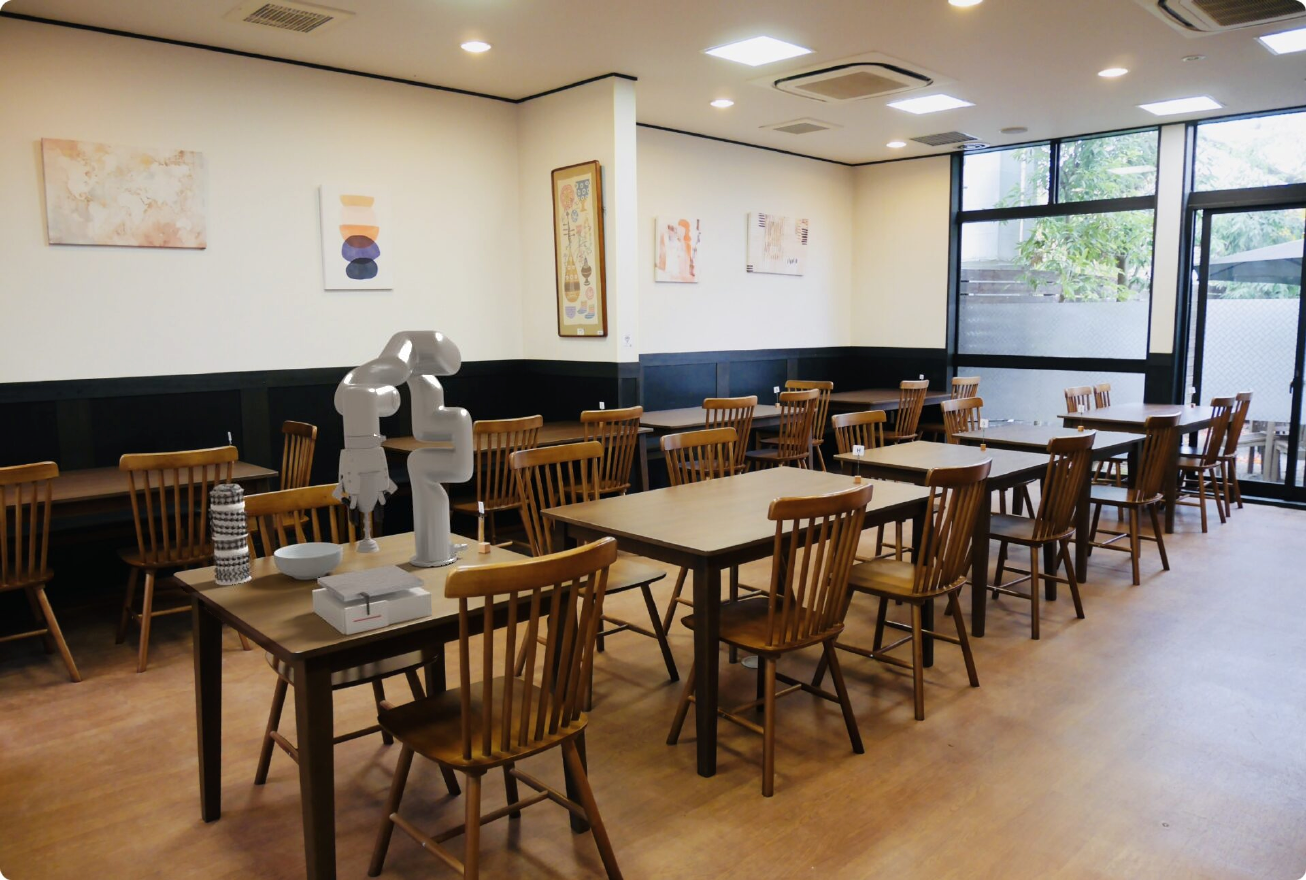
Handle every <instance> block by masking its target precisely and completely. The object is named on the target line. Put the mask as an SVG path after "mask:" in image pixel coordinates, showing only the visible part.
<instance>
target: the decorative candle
mask: <svg viewBox="0 0 1306 880" xmlns="http://www.w3.org/2000/svg"><path fill="white" fill-rule="evenodd" d="M244 491H245V489H244V488H242V487H241V486H240V485H239V484H238V483H223V484H218V485H215V486H214V487H213V488H212V490H211V491H210V492H209V495H210V507H209V508H207V511H208V512H209V513H208V517H209V519H211V520H210V522H209V525H210V526H211V527H210V528H209V530H210V531H211V533H212V535H211V539H212V540H213V541H214V550H213V551H214V555H213V558H212V559H213V560H214V562H213V565H214V566H216V567H215V568H214V570H213V572H214V573H215V574H214V579H216V580H215V584H216V583H217V584H216V585H218V584H219V586H233V585H234V584H236V585H239V584H238V583H241V584H244V582H245V583H248V582H249V581H251V580H252V576H251V574H252V571H251V568H252V565H250V561H251V558H250V557H249V556H250V555H251V553H250V551H249V547H248V544H247V542H248V541H247V537H248V535H249V531H248V530H247V529H248V528H249V525H248V524H246V522H247V521H249V517H248V516H247V515H248V514H249V512H248V511H247V510H245V507H246V504H245V502H246V501H245V500H244ZM247 581H248V582H247ZM232 584H233V585H232Z"/></svg>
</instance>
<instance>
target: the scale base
mask: <svg viewBox="0 0 1306 880" xmlns="http://www.w3.org/2000/svg"><path fill="white" fill-rule="evenodd" d="M311 592H312V593H311V594H312V608H313V612H314V613H315V614H316V615H318V616H319V617H322V620H324V621H325V620H326V621H325V622H327V623H328V624H329V625H330V626H332V627H333V628H335V629H336V630H337V631H338V632H339V633H341V634H342V635H352V634H356V633H361V632H367V631H372V630H376V629H380V628H385V627H389V625H392V624H397V623H401V622H407V621H411V620H415V619H420V618H424V617H429V616H432V615H433V612H432V610H433V609H432V593H431V592H429V591H427V590H425V589H424V588H423V587H416V588H411V589H406V590H401V591H396V592H391V593H386V594H380V595H375V596H370V597H369V609H370V615H367V606H366V598H360V599H355V600H350V601H343V600H342V599H340V598H339V597H337V596H336V595H334V594H333V593H331V592H330V591H328V590H327V589H325V588H324V587H322V588H318V589H313V590H312V591H311Z"/></svg>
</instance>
